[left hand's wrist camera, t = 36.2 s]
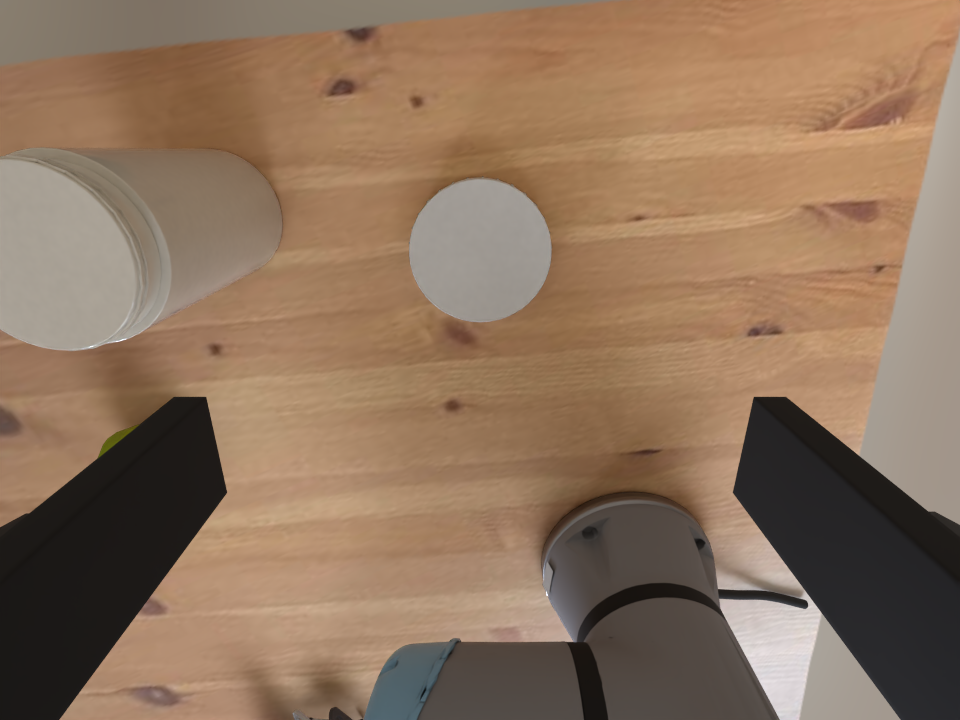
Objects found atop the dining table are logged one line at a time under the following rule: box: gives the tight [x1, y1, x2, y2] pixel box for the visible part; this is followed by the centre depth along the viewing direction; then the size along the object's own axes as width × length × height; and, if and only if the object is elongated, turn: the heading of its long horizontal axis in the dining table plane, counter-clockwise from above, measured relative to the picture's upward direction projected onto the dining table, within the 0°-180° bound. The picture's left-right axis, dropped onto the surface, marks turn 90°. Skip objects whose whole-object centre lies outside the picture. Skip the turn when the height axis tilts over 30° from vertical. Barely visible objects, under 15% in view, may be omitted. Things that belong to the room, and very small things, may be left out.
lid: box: [409, 176, 552, 322], centre depth 37 cm, size 10×10×2 cm
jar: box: [0, 147, 283, 351], centre depth 29 cm, size 9×9×16 cm
